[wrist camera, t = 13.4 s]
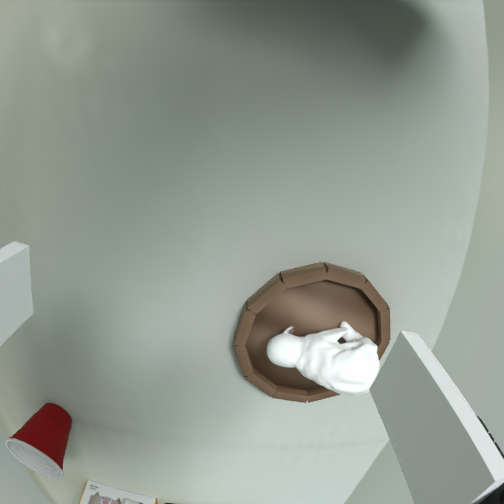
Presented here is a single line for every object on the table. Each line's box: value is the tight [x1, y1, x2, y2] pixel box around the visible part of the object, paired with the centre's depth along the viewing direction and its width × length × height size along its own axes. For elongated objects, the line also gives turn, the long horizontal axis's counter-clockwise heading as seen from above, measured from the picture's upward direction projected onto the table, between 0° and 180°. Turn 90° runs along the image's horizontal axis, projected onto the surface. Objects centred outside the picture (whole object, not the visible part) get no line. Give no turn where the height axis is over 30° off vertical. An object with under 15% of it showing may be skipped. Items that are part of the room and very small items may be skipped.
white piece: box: [267, 321, 380, 396], centre depth 32 cm, size 6×8×12 cm
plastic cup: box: [5, 403, 72, 480], centre depth 36 cm, size 11×11×12 cm
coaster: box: [234, 262, 390, 403], centre depth 36 cm, size 18×18×2 cm
